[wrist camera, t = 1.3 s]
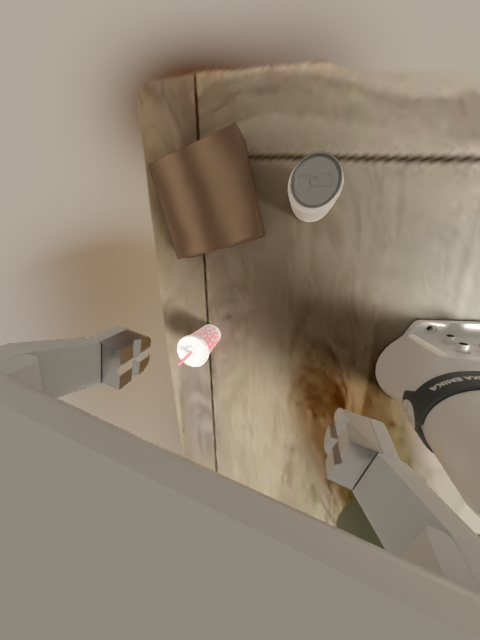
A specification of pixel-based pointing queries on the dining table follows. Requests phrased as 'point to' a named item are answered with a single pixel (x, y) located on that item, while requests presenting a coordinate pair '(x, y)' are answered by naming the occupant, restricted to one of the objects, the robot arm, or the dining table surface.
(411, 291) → the dining table surface
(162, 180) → the riser block
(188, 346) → the beverage cup
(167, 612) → the robot arm
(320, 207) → the can
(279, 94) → the dining table surface
